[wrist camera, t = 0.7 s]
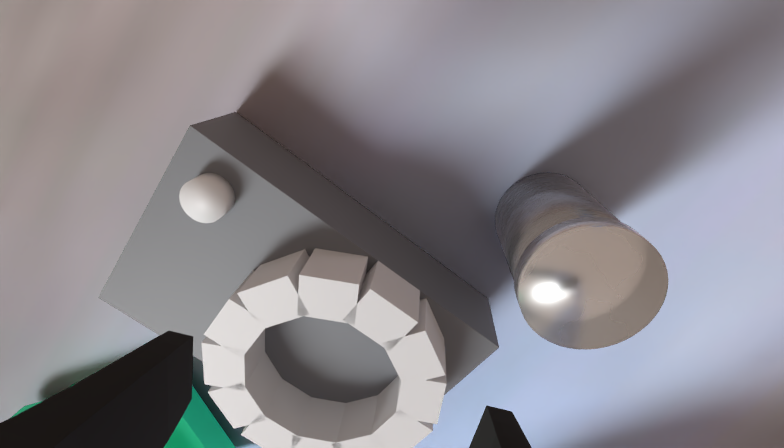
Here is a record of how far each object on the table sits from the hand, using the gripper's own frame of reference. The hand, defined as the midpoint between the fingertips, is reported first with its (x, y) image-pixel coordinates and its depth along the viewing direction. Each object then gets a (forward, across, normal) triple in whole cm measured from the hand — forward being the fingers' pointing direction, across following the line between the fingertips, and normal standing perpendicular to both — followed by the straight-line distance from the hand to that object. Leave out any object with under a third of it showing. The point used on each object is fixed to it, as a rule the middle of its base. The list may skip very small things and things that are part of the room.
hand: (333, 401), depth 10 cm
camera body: (+10, +3, +3) cm, 10 cm away
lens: (+10, -7, -3) cm, 12 cm away
